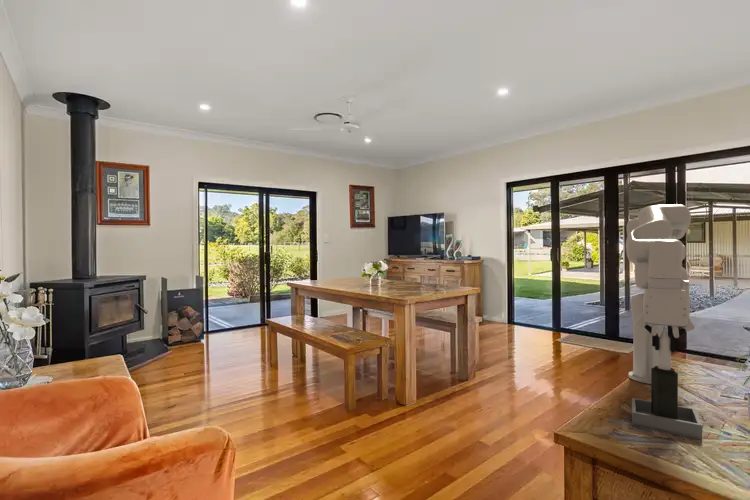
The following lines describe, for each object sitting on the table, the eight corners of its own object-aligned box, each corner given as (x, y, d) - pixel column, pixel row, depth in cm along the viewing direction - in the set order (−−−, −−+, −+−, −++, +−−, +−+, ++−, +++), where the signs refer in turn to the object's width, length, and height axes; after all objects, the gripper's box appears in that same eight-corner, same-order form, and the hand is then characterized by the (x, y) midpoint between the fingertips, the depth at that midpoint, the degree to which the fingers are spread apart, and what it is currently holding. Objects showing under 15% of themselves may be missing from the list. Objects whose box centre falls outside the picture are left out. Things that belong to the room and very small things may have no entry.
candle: (679, 420, 108) (680, 329, 107) (658, 419, 109) (658, 328, 108) (669, 412, 113) (670, 325, 112) (649, 411, 114) (649, 324, 113)
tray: (631, 410, 120) (631, 397, 119) (695, 422, 111) (695, 408, 111) (632, 425, 109) (632, 412, 109) (702, 440, 101) (702, 425, 101)
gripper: (700, 284, 109) (699, 351, 109) (629, 281, 117) (629, 343, 118) (705, 287, 102) (704, 357, 103) (630, 284, 111) (629, 349, 111)
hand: (664, 349), depth 110 cm, fingers closed on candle, 3 cm apart
